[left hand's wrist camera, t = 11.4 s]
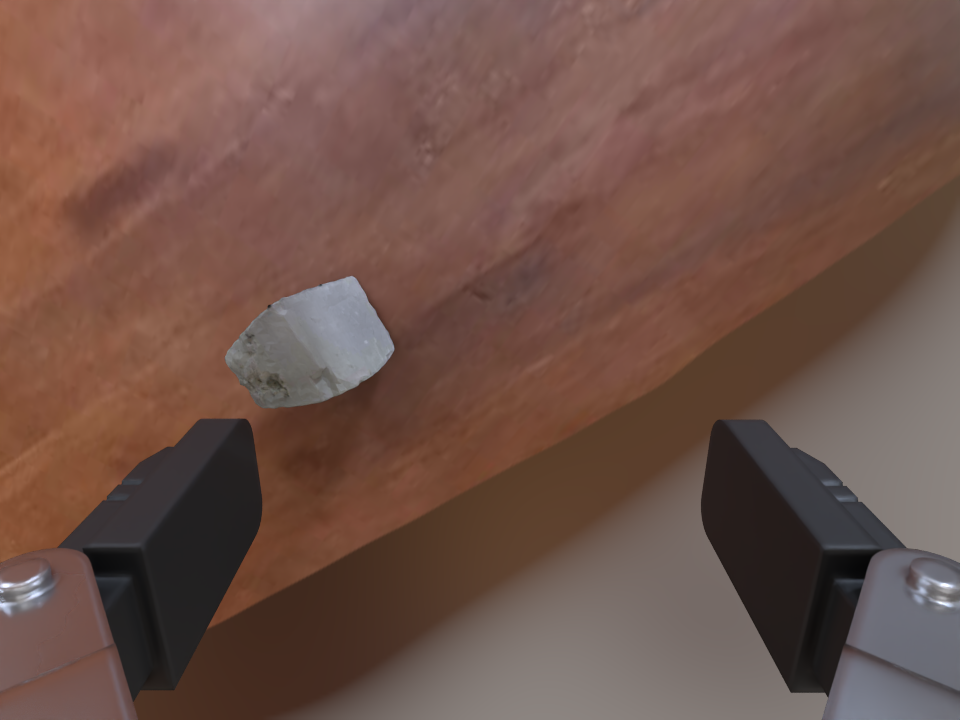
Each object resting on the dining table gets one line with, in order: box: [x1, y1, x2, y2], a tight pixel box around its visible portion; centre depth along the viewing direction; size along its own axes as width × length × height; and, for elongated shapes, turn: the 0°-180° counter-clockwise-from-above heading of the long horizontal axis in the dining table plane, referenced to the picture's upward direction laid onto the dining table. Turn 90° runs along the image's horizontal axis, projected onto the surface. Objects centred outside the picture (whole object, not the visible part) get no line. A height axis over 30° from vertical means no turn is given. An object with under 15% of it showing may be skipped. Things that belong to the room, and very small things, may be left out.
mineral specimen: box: [225, 276, 394, 408], centre depth 38 cm, size 7×9×8 cm
